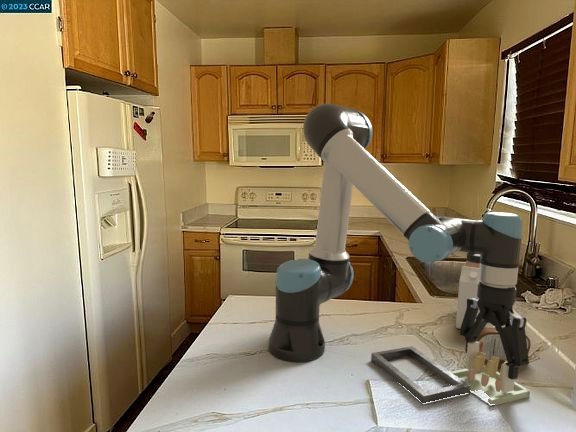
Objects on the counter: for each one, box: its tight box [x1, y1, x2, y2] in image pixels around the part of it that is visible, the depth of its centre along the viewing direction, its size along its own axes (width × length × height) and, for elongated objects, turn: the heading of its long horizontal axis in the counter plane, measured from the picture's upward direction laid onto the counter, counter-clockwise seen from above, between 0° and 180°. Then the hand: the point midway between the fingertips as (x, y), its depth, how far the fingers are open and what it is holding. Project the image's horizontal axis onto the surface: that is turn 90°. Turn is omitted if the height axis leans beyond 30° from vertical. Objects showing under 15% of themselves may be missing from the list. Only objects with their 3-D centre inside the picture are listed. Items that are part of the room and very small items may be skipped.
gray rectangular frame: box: [370, 345, 471, 403], centre depth 95 cm, size 12×20×2 cm, turn 20°
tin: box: [475, 326, 532, 362], centre depth 103 cm, size 15×3×8 cm, turn 92°
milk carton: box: [455, 265, 480, 330], centre depth 123 cm, size 7×7×19 cm
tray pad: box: [450, 364, 531, 406], centre depth 91 cm, size 11×12×1 cm
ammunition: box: [468, 352, 507, 392], centre depth 90 cm, size 5×7×8 cm
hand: (488, 379), depth 90 cm, fingers closed on ammunition, 9 cm apart
